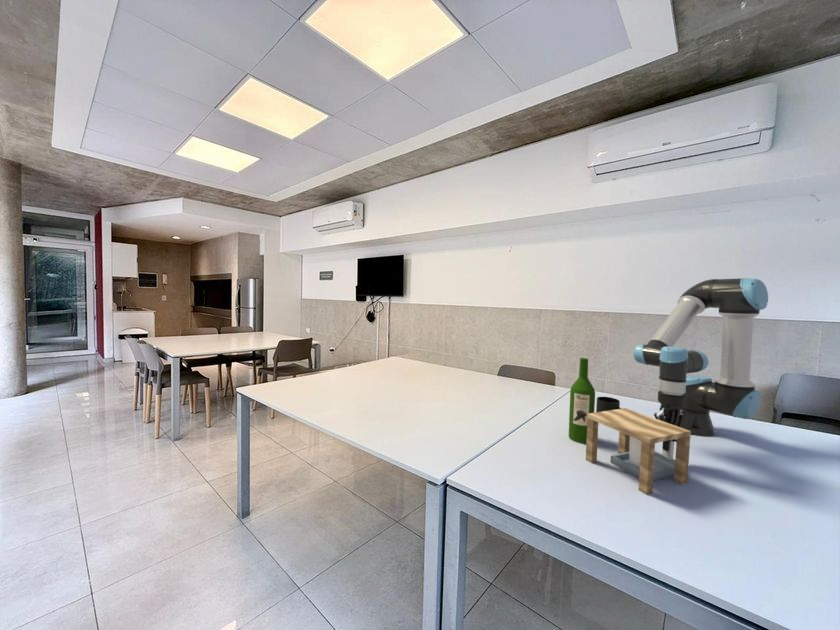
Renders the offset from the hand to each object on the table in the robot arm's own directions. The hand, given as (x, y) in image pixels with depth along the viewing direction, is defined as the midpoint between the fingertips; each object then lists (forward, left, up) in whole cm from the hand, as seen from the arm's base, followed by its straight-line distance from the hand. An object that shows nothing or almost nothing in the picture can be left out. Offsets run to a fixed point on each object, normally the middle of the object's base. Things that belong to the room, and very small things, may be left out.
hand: (667, 458), depth 118 cm
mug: (-16, -37, -2) cm, 41 cm away
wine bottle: (+13, -25, -2) cm, 28 cm away
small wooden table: (+17, 0, -1) cm, 17 cm away
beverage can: (+14, 0, -1) cm, 14 cm away
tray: (+10, 0, -1) cm, 10 cm away
